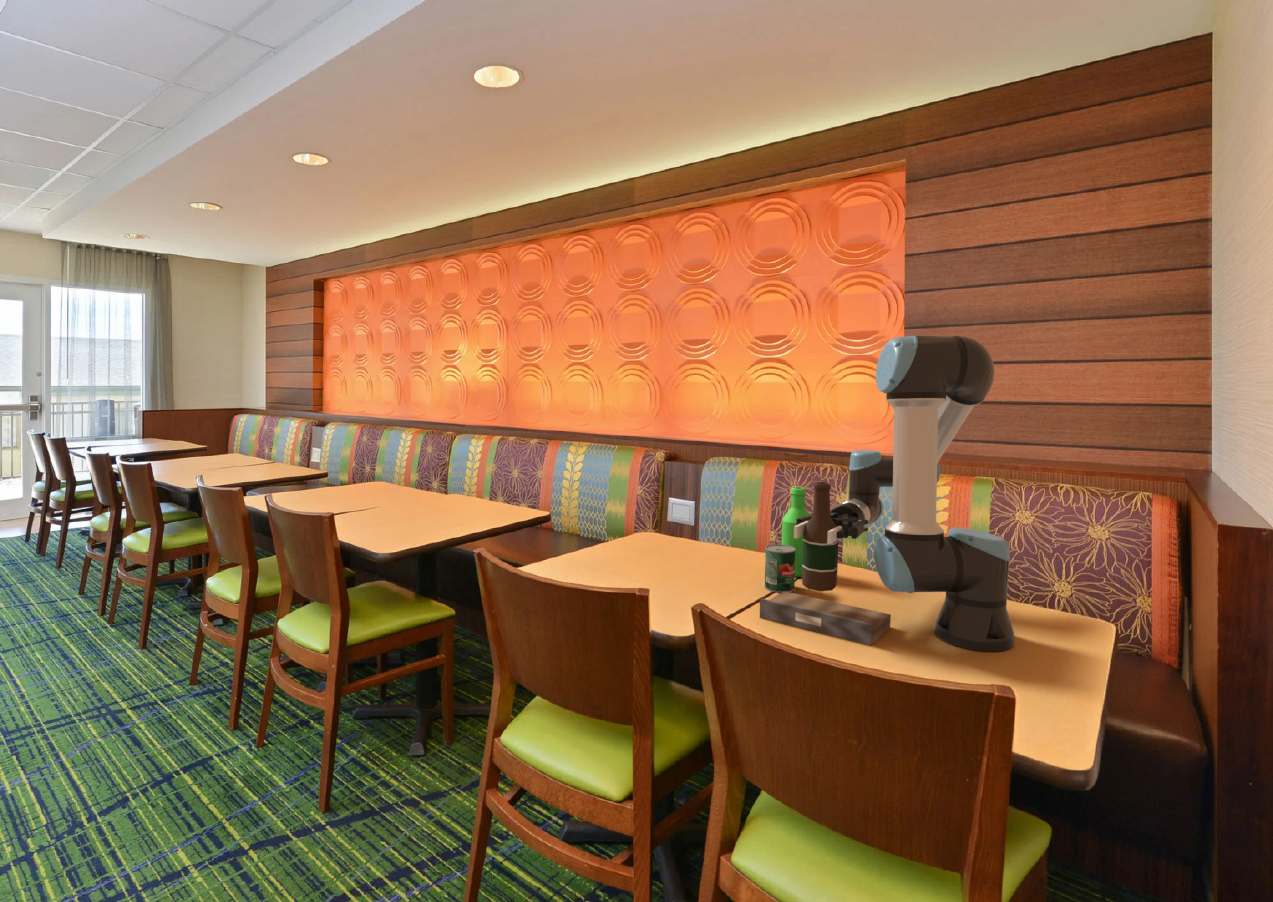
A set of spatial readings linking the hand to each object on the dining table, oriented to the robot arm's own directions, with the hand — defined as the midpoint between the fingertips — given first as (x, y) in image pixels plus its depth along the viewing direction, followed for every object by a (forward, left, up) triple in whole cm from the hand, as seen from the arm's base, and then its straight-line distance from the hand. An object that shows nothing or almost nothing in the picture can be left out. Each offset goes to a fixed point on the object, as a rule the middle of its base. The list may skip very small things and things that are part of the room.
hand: (812, 534), depth 142 cm
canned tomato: (+18, -22, -22) cm, 36 cm away
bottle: (+20, -37, -22) cm, 47 cm away
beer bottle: (0, -5, -13) cm, 14 cm away
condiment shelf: (-1, -6, -21) cm, 22 cm away
